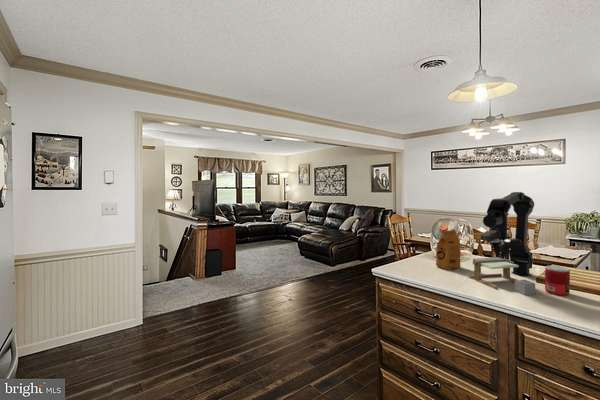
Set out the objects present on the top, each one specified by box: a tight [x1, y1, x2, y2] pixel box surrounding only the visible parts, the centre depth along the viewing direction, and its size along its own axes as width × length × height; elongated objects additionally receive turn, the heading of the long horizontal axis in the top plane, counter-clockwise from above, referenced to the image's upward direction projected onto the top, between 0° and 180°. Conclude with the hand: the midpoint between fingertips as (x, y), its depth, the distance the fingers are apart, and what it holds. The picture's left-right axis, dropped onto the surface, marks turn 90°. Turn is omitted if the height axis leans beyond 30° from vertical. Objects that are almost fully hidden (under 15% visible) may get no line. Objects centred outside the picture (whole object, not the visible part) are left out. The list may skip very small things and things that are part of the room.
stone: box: [514, 279, 536, 296], centre depth 126 cm, size 5×5×5 cm
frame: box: [469, 258, 518, 290], centre depth 141 cm, size 17×18×10 cm
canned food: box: [544, 265, 571, 297], centre depth 125 cm, size 8×8×11 cm
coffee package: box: [435, 228, 461, 271], centre depth 169 cm, size 10×12×22 cm
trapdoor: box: [472, 256, 519, 270], centre depth 143 cm, size 12×14×3 cm
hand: (500, 257), depth 139 cm, fingers open, 3 cm apart
